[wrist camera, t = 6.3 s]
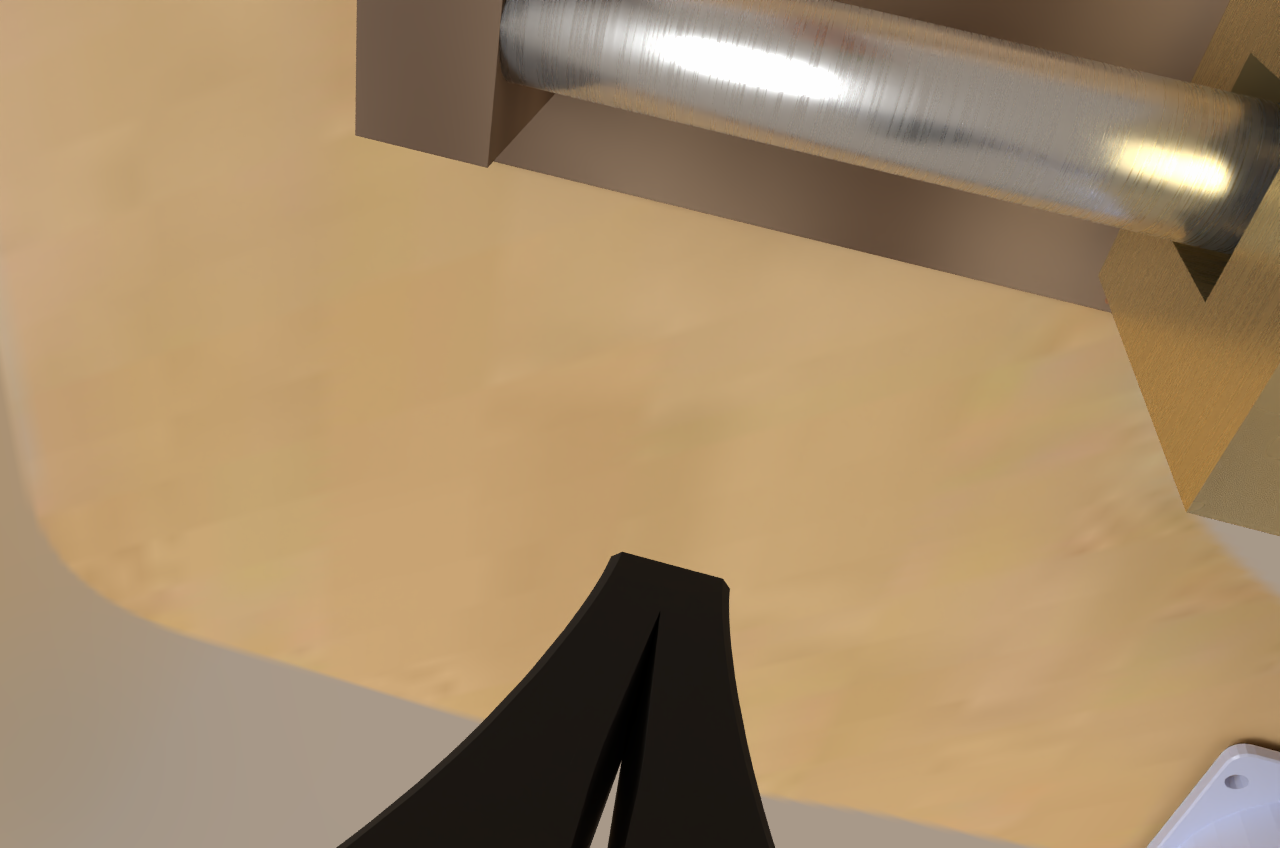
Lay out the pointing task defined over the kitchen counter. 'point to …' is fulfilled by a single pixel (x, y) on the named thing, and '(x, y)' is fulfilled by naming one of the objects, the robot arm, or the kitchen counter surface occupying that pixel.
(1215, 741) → the kitchen counter surface
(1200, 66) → the brushed brass square block
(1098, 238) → the slider rail
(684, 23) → the pipe
